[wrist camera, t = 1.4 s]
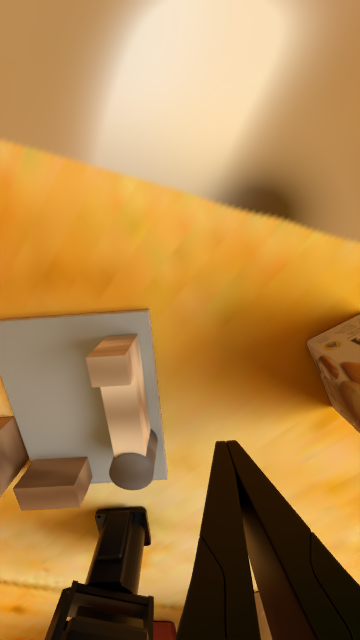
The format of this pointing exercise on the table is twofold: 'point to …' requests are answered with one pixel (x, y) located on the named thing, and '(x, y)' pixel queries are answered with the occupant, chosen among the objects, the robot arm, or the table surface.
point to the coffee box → (340, 367)
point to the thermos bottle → (262, 619)
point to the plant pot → (164, 631)
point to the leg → (125, 409)
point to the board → (72, 385)
